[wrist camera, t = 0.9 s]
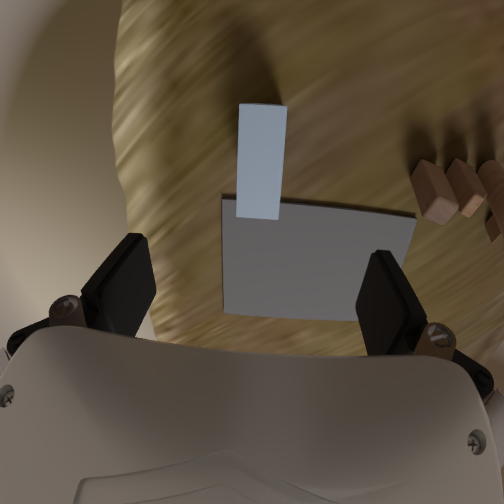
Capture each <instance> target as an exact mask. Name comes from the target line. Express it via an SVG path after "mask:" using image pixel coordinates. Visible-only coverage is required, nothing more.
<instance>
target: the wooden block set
mask: <svg viewBox="0 0 504 504" xmlns="http://www.w3.org/2000/svg"><path fill="white" fill-rule="evenodd" d="M410 180H411V183H412V186H413V189H414V192H415V195H416V198H417V201H418V204H419V207H420V211H421V214H422V217H423V218H424V219H427V220H430V221H433V222H435V223H438V224H441V225H445V224H446V223H447V221H448V220H449V219H450V218H451V216H452V215H453V214H454V213H455V212H456V210H457V209H459V212H460V213H461V214H462V215H465V216H467V217H470V216H471V215H472V214H473V213H474V212H475V211H476V209H477V208H478V207H479V206H480V204H481V203H482V202H483V201H484V199H485V198H486V200H487V202H488V204H489V206H490V208H491V210H492V212H493V215H492V216H491V217H490V218H489V219H488V221H487V222H486V223H485V227H486V230H487V232H488V235H489V237H490V240H491V243H493V242H494V241H495V240H496V239H497V238H498V237H499V236H500V235H501V234H502V236H503V238H504V170H503V168H502V167H501V165H500V164H499V163H498V162H497V161H495V160H489V161H486V162H485V163H484V164H482V166H481V167H480V168H479V170H478V172H477V174H476V172H475V170H474V169H473V167H472V166H470V165H468V164H467V163H465V162H463V161H461V160H459V159H457V158H455V159H454V161H453V162H452V164H451V166H450V167H449V169H448V170H447V172H446V173H444V171H443V169H442V168H441V167H439V166H437V165H435V164H433V163H430V162H428V161H426V160H424V159H421V160H420V162H419V163H418V165H417V167H416V168H415V170H414V172H413V173H412V175H411V177H410Z"/></svg>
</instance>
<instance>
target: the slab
mask: <svg viewBox="0 0 504 504" xmlns="http://www.w3.org/2000/svg"><path fill="white" fill-rule="evenodd" d="M286 118H287V106H284V105H279V104H264V103H244V104H239V131H238V164H237V206H236V217H243V218H258V219H271V220H278V217H279V206H280V195H281V183H282V171H283V159H284V146H285V132H286Z"/></svg>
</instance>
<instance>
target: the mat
mask: <svg viewBox="0 0 504 504" xmlns="http://www.w3.org/2000/svg"><path fill="white" fill-rule="evenodd" d="M236 206H237V199H235V198H223V199H222V243H223V291H224V313H228V314H239V315H250V316H263V317H277V318H293V319H313V320H342V321H359V320H358V317H357V313H356V309H355V304H356V300H357V297H358V294H359V291H360V288H361V285H362V282H363V279H364V276H365V272H366V269H367V266H368V262H369V259H370V256H371V254H372V253H375V251H376V250H377V249H379V250H390V251H391V253H392V255H393V256H394V258H395V259H396V261H397V263H398V264H399V266H400V268H401V267H402V265H403V262H404V259H405V256H406V253H407V250H408V248H409V245H410V242H411V238H412V235H413V232H414V229H415V226H416V222H417V218H416V217H410V216H404V215H397V214H390V213H382V212H375V211H367V210H359V209H351V208H342V207H333V206H323V205H313V204H303V203H291V202H280V206H279V217H278V220H271V219H258V218H243V217H236Z"/></svg>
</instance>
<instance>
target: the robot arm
mask: <svg viewBox="0 0 504 504" xmlns="http://www.w3.org/2000/svg"><path fill="white" fill-rule="evenodd" d="M81 293H82V295H81V296H80V298H79V297H77V296H75V295H66V296H63V297H60V298H58V299H57V300H56V301H55V302H54V303H53V304H52V305H51V307H50V309H49V317H48V318H46V319H43V320H41V321H39V322H36V323H34V324H32V325H29V326H27V327H25V328H22V329H20V330H18V331H16V332H14V333H13V334H12V335H11V337H10V338H9V340H8V342H7V349H6V350H5V349H4V348H2V349H1V350H0V504H504V501H503V489H502V488H503V487H502V479H501V470H500V469H501V467H502V466H503V464H504V395H503V394H502V393H501V391H499V389H498V388H497V389H496V390H494V389H493V388H494V380H493V377H492V375H491V373H490V372H489V371H488V370H487V369H486V368H485V367H483V366H482V365H480V364H479V363H477V362H476V361H474V360H472V359H471V358H469V357H468V356H466V355H465V354H463V353H461V352H460V351H458V350H457V349H455V347H456V338H455V335H454V333H453V332H452V331H451V330H450V329H449V328H448V327H447V326H445V325H443V324H441V323H436V322H433V323H429V324H428V322H427V320H426V318H427V315H426V313H425V311H424V309H423V308H422V306H421V304H420V302H419V300H418V298H417V296H416V294H415V293H414V291H413V289H412V287H411V285H410V283H409V282H408V280H407V278H406V276H405V275H404V273H403V271H402V270H401V268H400V266H399V264H398V263H397V261H396V259H395V258H394V256H393V255H392V253H391V251H390V250H379V249H377V250H376V251H375V253H372V254H371V256H370V259H369V262H368V266H367V269H366V272H365V276H364V279H363V282H362V285H361V288H360V291H359V294H358V297H357V300H356V304H355V309H356V313H357V317H358V320H359V324H360V327H361V331H362V335H363V339H364V342H365V346H366V350H367V354H368V356H304V355H281V354H264V353H251V352H239V351H228V350H219V349H210V348H202V347H194V346H186V345H179V344H173V343H166V342H160V341H154V340H148V339H143V338H137V337H135V335H136V333H137V331H138V329H139V327H140V325H141V323H142V321H143V319H144V317H145V315H146V313H147V311H148V309H149V307H150V305H151V303H152V301H153V299H154V297H155V295H156V284H155V279H154V274H153V269H152V264H151V259H150V253H149V248H148V242H147V238H146V237H144V236H143V234H141V233H128V234H127V236H126V237H125V238H124V239H123V240H122V241H121V242H120V243H119V245H118V246H117V247H116V248H115V249H114V250H113V251H112V252H111V254H110V255H109V256H108V257H107V258H106V260H105V261H104V262H103V263H102V264H101V266H100V267H99V268H98V269H97V270H96V272H95V273H94V274H93V275H92V277H91V278H90V279H89V281H88V282H87V283H86V284H85V286H84V287H83V288H82V289H81Z"/></svg>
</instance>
